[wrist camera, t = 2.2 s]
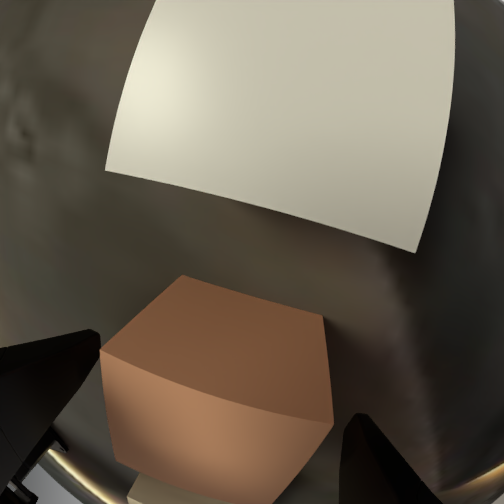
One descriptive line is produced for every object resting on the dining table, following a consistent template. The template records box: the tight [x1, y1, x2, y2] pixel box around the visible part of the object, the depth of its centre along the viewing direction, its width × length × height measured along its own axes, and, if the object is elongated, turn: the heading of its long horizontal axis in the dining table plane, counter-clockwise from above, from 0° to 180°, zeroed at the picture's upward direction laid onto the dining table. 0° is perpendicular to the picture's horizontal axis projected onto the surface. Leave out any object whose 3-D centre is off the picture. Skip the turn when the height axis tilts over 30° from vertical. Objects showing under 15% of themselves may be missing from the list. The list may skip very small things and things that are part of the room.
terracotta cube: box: [100, 275, 334, 504], centre depth 8 cm, size 5×5×5 cm
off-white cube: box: [105, 0, 455, 253], centre depth 6 cm, size 5×5×5 cm
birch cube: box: [127, 472, 233, 504], centre depth 11 cm, size 5×5×5 cm
